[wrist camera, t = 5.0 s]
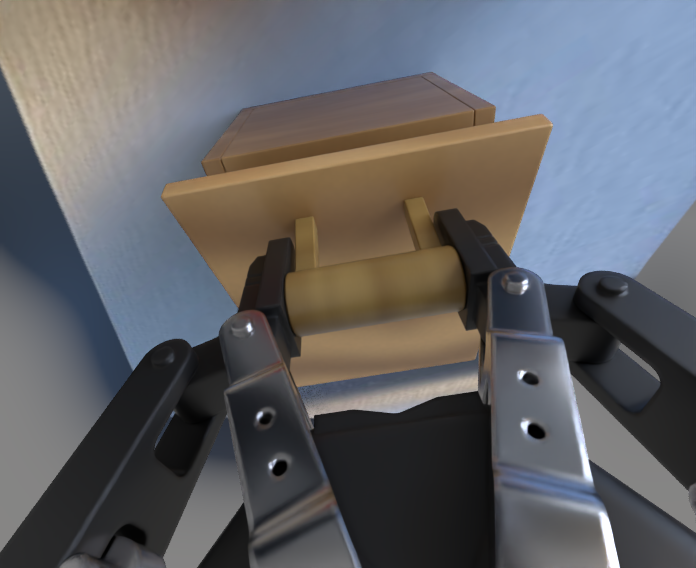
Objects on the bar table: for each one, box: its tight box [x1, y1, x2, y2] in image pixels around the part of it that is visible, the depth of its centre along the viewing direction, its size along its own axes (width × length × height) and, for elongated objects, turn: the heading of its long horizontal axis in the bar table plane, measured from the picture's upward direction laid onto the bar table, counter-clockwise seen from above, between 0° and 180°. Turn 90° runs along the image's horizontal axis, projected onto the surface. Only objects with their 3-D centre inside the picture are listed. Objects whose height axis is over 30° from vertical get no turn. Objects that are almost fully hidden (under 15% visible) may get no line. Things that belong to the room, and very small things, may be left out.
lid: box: [161, 114, 553, 387], centre depth 16 cm, size 17×13×5 cm
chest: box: [201, 72, 496, 176], centre depth 23 cm, size 16×13×10 cm
